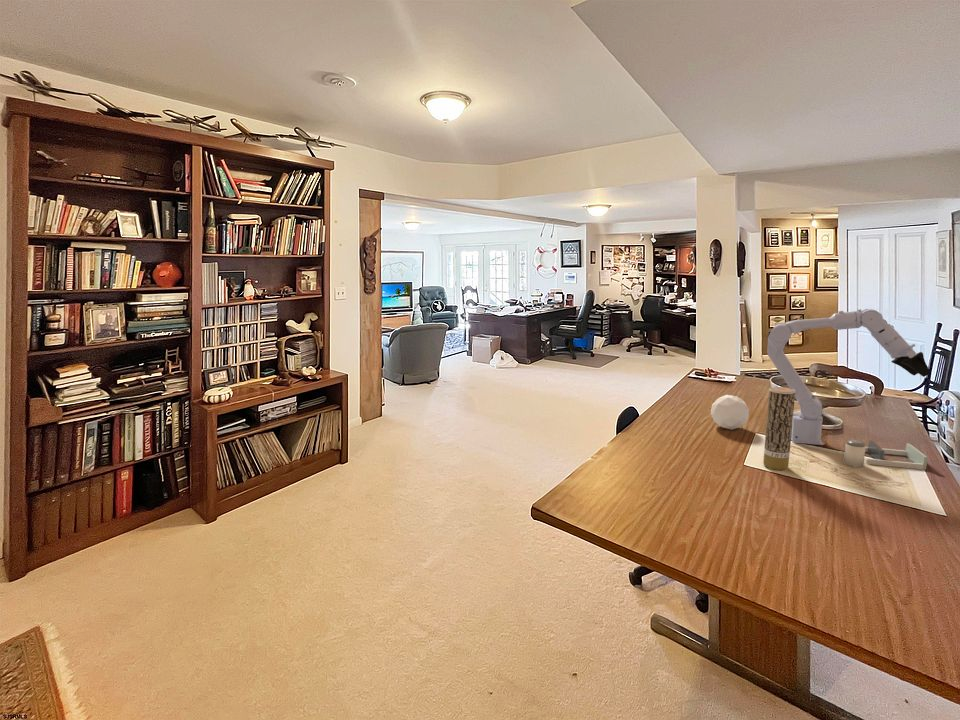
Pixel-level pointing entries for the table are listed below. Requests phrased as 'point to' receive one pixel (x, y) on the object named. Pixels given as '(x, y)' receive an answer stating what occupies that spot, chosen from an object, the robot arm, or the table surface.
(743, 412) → the geodesic sphere
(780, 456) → the paper tube
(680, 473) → the table surface
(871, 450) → the pusher plate
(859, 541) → the table surface
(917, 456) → the lane
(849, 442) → the jar
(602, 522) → the table surface
